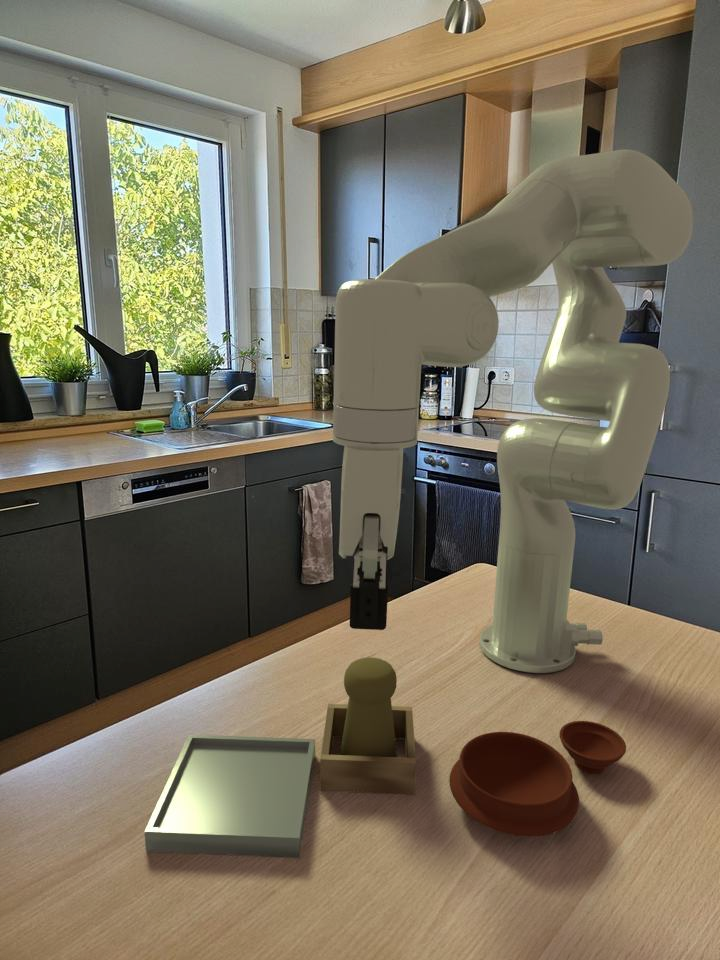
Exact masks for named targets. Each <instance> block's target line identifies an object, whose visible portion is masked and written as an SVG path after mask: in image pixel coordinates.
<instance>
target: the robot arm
mask: <svg viewBox="0 0 720 960" xmlns="http://www.w3.org/2000/svg"><path fill="white" fill-rule="evenodd" d="M693 229H694V214H693V208H692V204H691V202H690V199H689V198H688V196H687V194H686V192H685V191H684V189H683V188H682V187H681V186H680V185H679V184H678V183H677V182H676V181H675V179H673V178H672V177H671V175H670V174H669V173H668V172H667V171H666V170H665V169H664V168H663V167H662V166H661V165H660V164H659V163H657V161H655V160H654V159H652V158H651V157H649V156H648V155H646V154H644V153H642V152H641V151H637V150H634V149H617V150H612V151H604V152H596V153H591V154H583V155H575V156H568V157H562V158H558V159H554V160H551V161H549V162H546V163H544V164H542V165H541V166H538V168H536V169H535V170H534V171H533V172H531V173H530V174H529V175H528V176H527V177H526V178H525V179H523V181H522V182H520V183H519V184H517V186H516V187H515V188H514V189H513V190H511V192H509V193H508V194H507V195H506V196H505V197H504V198H502V200H500V201H499V202H498V203H497V204H496V205H495V206H494V207H493V208H492V209H491V210H490V211H488V212H487V213H486V214H484V215H483V216H481V217H480V218H479V217H478V218H477V219H474V220H472V221H470V222H468V223H465V224H463V225H462V226H461V225H460V226H459V227H456V228H455V229H453V230H451V231H449V232H447V233H445V234H443V235H441V236H439V237H437V238H434V239H432V240H430V241H429V242H426V243H424V244H422V245H420V246H418V247H416V248H414V249H412V250H411V251H409V252H407V253H405V254H404V255H402V256H401V257H400V258H397V259H396V261H394V262H393V263H392V264H390V265H389V266H388V267H386V269H385V270H383V271H382V272H381V273H380V274H379V275H377V276H376V277H375V278H372V279H371V278H370V279H369V278H368V279H367V278H365V279H363V278H361V279H360V278H359V279H353V280H348V281H346V282H344V283H342V284H341V286H340V287H339V289H338V291H337V292H336V297H335V311H334V312H335V318H334V319H335V321H334V323H335V324H334V370H333V373H334V375H333V378H334V379H333V409H332V410H333V413H332V414H333V416H332V417H333V418H332V420H333V421H332V425H333V426H332V441H333V443H335V444H337V445H340V446H344V447H343V448H344V449H343V456H342V468H341V470H342V471H341V482H340V483H341V485H340V486H341V487H340V491H341V492H340V514H339V515H340V518H339V541H338V542H339V543H338V544H339V545H338V555H339V556H340V557H341V558H342V559H346V558H347V557H354V558H353V559H354V566H353V578H352V579H353V583H350V595H349V597H350V599H349V600H350V602H349V627H350V628H351V629H353V630H371V631H373V630H374V631H383V630H385V629H386V628H387V620H388V619H387V618H388V617H387V616H388V599H389V597H388V596H389V595H388V593H389V584H386V583H387V568H388V567H387V564H388V560H390V559H391V558H393V557H394V555H395V548H396V541H397V534H398V525H399V518H400V510H401V509H400V508H401V507H400V506H401V495H402V478H403V463H404V461H403V460H404V449H407V448H408V449H409V448H412V447H414V446H417V444H418V433H419V413H420V399H421V398H420V397H421V396H420V395H421V394H420V393H421V375H422V365H424V366H431V367H432V366H434V367H444V368H461V367H466V366H469V365H472V364H474V363H476V362H479V360H481V359H482V358H484V357H485V356H486V355H487V354H488V353H489V352H490V351H491V349H492V348H493V347H494V344H495V342H496V340H497V337H498V332H499V323H500V322H499V321H500V320H499V314H498V311H497V308H496V305H495V304H494V301H493V300H492V297H495V296H499V295H502V294H506V293H510V292H513V291H516V290H519V289H523V288H524V287H527V286H529V285H530V284H532V283H534V282H535V281H536V280H537V279H539V278H540V277H541V275H543V273H544V272H545V271H546V270H547V269H548V268H549V266H551V265H552V267H553V272H554V277H555V281H556V286H557V291H558V292H557V294H558V306H557V311H556V314H555V318H554V321H553V325H552V328H551V331H550V333H549V336H548V339H547V342H546V345H545V348H544V350H543V354H542V357H541V360H540V362H539V365H538V368H537V372H536V376H535V380H534V385H533V395H534V399H535V401H536V403H537V404H538V405H539V407H541V408H542V409H544V410H546V411H548V412H551V413H553V414H559V415H564V416H568V417H574V418H575V417H577V418H582V419H589V420H590V419H591V420H597V421H606V422H609V424H608V425H607V427H605V426H597V425H592V424H584V423H577V422H573V421H565V420H556V419H548V418H539V417H535V418H526V419H524V418H523V419H521V420H518V421H515V422H512V424H511V425H509V426H507V428H506V429H505V430H504V431H503V433H502V435H501V437H500V438H499V442H498V445H497V451H496V465H497V472H498V479H499V480H498V481H499V489H500V491H499V492H500V521H499V534H498V535H499V536H498V548H497V560H496V561H497V562H496V574H495V587H494V589H495V590H494V602H493V616H492V624H491V625H489V626H488V627H485V629H483V631H482V632H481V634H480V637H479V646H480V647H479V648H480V649H481V651H482V653H483V654H485V656H486V657H487V658H488V659H490V660H491V661H493V662H494V663H496V664H498V665H499V666H502V667H504V668H508V669H511V670H514V671H518V672H523V673H529V674H530V673H532V674H548V673H556V672H559V671H563V670H564V669H566V668H568V667H570V666H571V665H573V663H574V661H575V659H576V652H577V651H576V647H578V646H579V644H583V645H584V644H586V645H593V646H594V645H596V646H597V645H600V646H601V645H602V643H603V632H602V630H600V629H588V626H587V623H586V622H585V623H584V622H569V621H568V619H567V618H568V609H569V601H570V600H569V599H570V592H571V591H570V589H571V581H572V572H573V561H574V553H575V544H576V527H575V526H576V525H575V521H574V518H573V515H572V512H571V511H570V508H569V506H568V504H567V502H569V503H574V504H579V505H583V506H588V507H593V508H599V509H603V510H614V511H615V510H619V509H623V508H625V507H627V506H628V505H629V504H631V502H632V501H633V500H634V499H635V497H636V495H637V493H638V491H639V489H640V486H641V484H642V482H643V478H644V477H645V476H644V475H645V472H646V470H647V467H648V463H649V459H650V457H651V454H652V451H653V448H654V443H655V440H656V437H657V434H658V431H659V428H660V424H661V422H662V418H663V415H664V413H665V409H666V404H667V402H668V401H667V400H668V396H669V392H670V385H671V382H670V380H671V374H670V365H669V362H668V360H667V358H666V355H665V354H664V353H663V352H662V351H661V350H660V349H658V348H656V347H653V346H651V345H647V344H642V343H633V342H632V343H630V342H620V339H621V336H622V332H623V329H624V327H625V324H626V319H627V307H626V305H625V302H624V300H623V298H622V296H621V294H620V292H619V290H618V289H617V288H616V286H615V285H614V283H613V282H612V281H611V279H610V278H609V277H608V275H607V273H606V271H605V270H604V268H621V267H624V268H625V267H655V266H656V267H657V266H664V265H667V264H668V265H669V264H670V263H673V262H674V261H676V260H677V259H679V258H680V257H681V256H682V255H683V254H684V252H685V251H686V249H687V247H688V246H689V243H690V241H691V238H692V234H693ZM353 555H354V556H353Z"/></svg>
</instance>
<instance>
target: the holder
mask: <svg viewBox="0 0 720 960" xmlns="http://www.w3.org/2000/svg"><path fill="white" fill-rule="evenodd" d="M347 707H348V703H347V704H346V703H345V704H341V703H328V704H327V709H326V717H325V724H324V731H323V738H322V744H321V745H322V746H321V750H320V751H321V752H320V759H319V762H320V764H319V765H320V766H319V767H320V771H319V774H320V776H319V779H320V782H319V785H320V786H319V788H320V789H319V790H320V792H337V793H338V792H340V793H341V792H342V793H348V792H349V793H364V794H365V793H368V794H370V793H371V794H394V795H395V794H396V795H416V794H415V793H416V792H415V791H416V771H417V770H416V769H417V758H416V757H417V755H416V743H415V741H416V740H415V729H414V714H413V706H401V705H400V706H399V705H398V706H397V705H392V714H393V723H394V731H395V740H398V739H399V740H404V755H405V756H404V757H402V756H401V757H400V756H399V757H398V756H397V757H377V756H350V755H340V754H333V748H334V746H333V745H334V741H335V740H334V739H335V737H336V738H337V737H338V738H339V737H340V738H343V732H344V726H345V720H346V714H347Z"/></svg>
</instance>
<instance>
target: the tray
mask: <svg viewBox="0 0 720 960" xmlns="http://www.w3.org/2000/svg"><path fill="white" fill-rule="evenodd" d="M315 759H316V739H315V738H296V737H295V738H292V737H291V738H290V737H271V736H270V737H267V736H265V737H263V736H245V735H244V736H239V735H238V736H237V735H215V734H213V735H212V734H188V735H187V738H186V740H185V742H184V744H183V746H182V749H181V751H180V753H179V755H178V757H177V759H176V762H175V764H174V765H173V768H172V771H171V773H170V775H169V777H168V780H167V782H166V784H165V785H164V788H163V790H162V792H161V795H160V797H159V799H158V801H157V803H156V805H155V807H154V810H153V811H152V814H151V816H150V819H149V820H148V823H147V825H146V827H145V829H144V845H145V852H151V853H152V852H157V853H177V854H179V853H180V854H196V855H197V854H200V855H219V856H220V855H222V856H223V855H224V856H226V855H227V856H246V857H268V858H269V857H271V858H273V857H274V858H290V859H291V858H293V859H298V858H299V859H300V855H301V851H302V843H303V837H304V831H305V824H306V823H305V822H306V817H307V811H308V805H309V804H308V803H309V798H310V793H311V792H310V791H311V785H312V778H313V773H314V772H313V771H314V764H315Z"/></svg>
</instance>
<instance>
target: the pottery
mask: <svg viewBox="0 0 720 960" xmlns="http://www.w3.org/2000/svg"><path fill="white" fill-rule="evenodd" d="M558 735H559V736H558V737H559V739H560V742H561V744H562V746H563V748H564V749H565V750H566V752H567V753H568V755H569V756H570V757H571V759H573V762H574V765H575V766H576V768H577V769H579V770H580V771H581V772H584V773H585V774H590V775H601V774H602V773H604V771H605V769H606V768H608V767H611V766H612V765H613V764H614V763H617V762H618V761H620V760H621V759H622V758H623V756H624V755H625V754H626V751H627V745H626V742H625V739H623V737H622V736H621V735H620V734H619V733H618V732H617V731H615V730H614V729H613V728H610V727H608V726H606V725H604V724H602V723H598V722H594V721H588V720H575V721H574V720H573V721H570V722H568V723H566V724H564V725H562V727H561V728H560V729H559V734H558ZM449 788H450V791H451V794H452V797H453V798H454V800H455V802H456V803H457V805H458V806H459V807H460V809H461V810H462V811H464V812H465V813H466V814H467V815H468V816H469V817H470V818H471V819H473V820H474V821H476V822H477V823H480V824H481V825H483V826H485V827H487V828H489V829H492V830H493V831H497V832H499V833H503V834H507V835H510V836H511V835H512V836H517V837H540V836H542V837H543V836H547V835H550V834H554V833H557V832H559V831H561V830H563V829H564V828H566V827H567V826H569V825H570V824H571V823H572V822H573V820H575V817H577V814H578V811H579V807H580V797H579V792H578V790H577V787H576V784H575V783H574V782H573V772H572V769H571V767H570V763H568V761H567V760H566V759H565V758H564V756H563V755H562V754H561V753H560V752H559V751H558V750H557V749H555V748H554V747H552V745H550V744H548V743H546V742H545V741H543V740H541V739H538V738H537V737H534V736H530V735H526V734H525V733H524V734H523V733H519V732H512V731H511V732H510V731H493V732H487V733H483V734H480V735H478V736H475V737H474V738H472V739H470V740H469V741H468V742H467V743H465V745H464V746H463V747H462V749H461V751H460V753H459V758H458V760H457V761H456V762H455V763H454V765H453V766H452V768H451V771H450V774H449Z"/></svg>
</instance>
